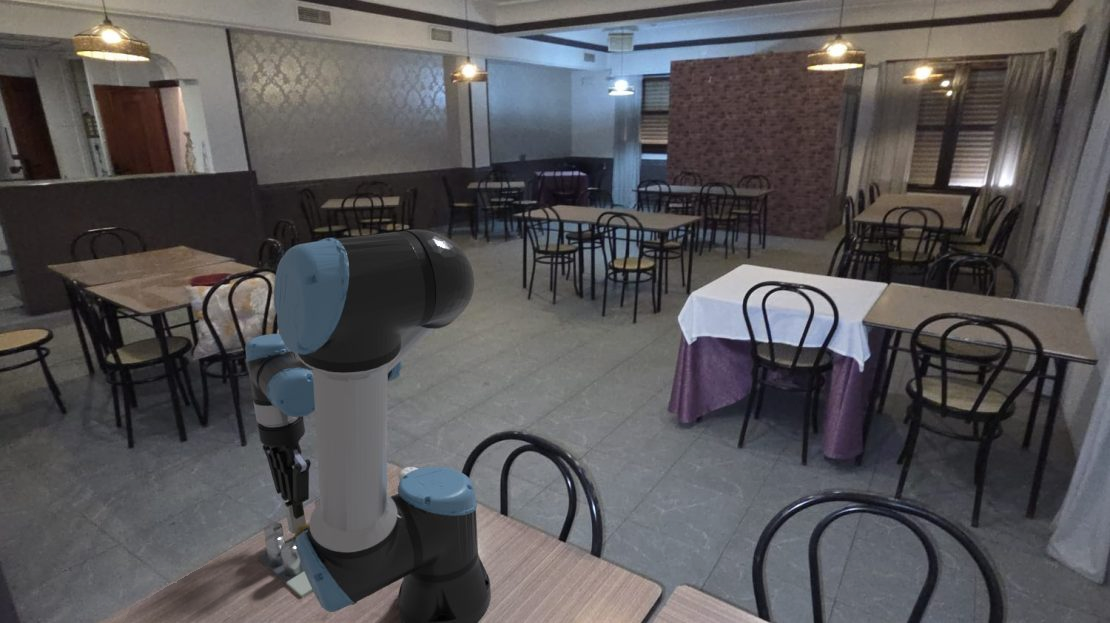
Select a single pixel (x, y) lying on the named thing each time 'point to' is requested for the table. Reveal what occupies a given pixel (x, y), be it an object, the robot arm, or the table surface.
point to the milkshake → (405, 471)
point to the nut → (302, 529)
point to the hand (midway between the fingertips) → (297, 528)
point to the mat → (294, 582)
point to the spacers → (282, 549)
